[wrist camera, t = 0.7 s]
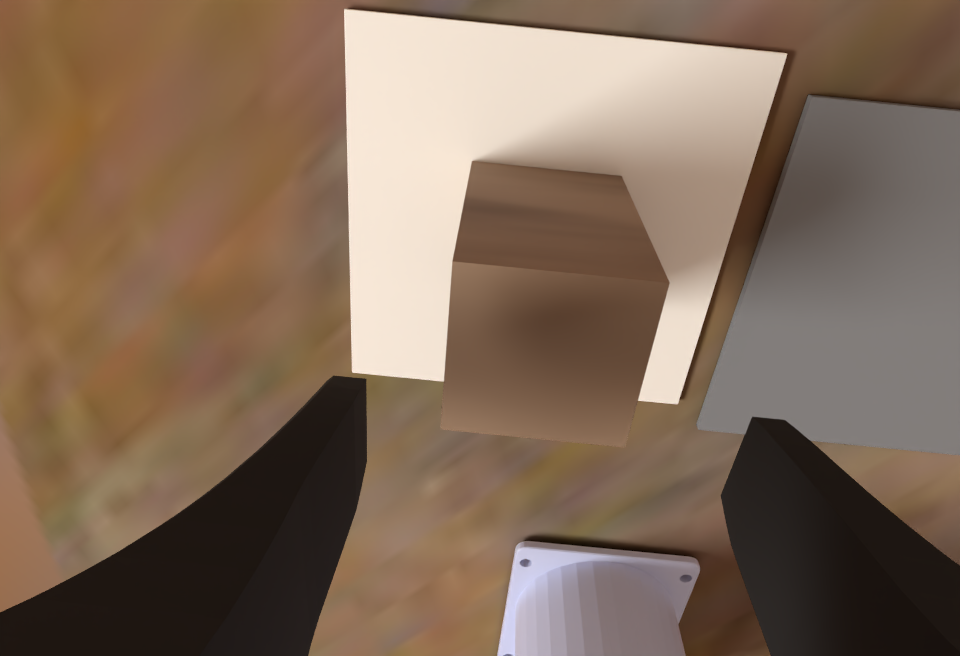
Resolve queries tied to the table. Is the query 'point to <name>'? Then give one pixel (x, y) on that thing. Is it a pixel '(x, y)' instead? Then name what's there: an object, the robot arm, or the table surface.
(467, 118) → the cream mat
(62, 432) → the table surface
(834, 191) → the grey mat
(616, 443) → the walnut block
